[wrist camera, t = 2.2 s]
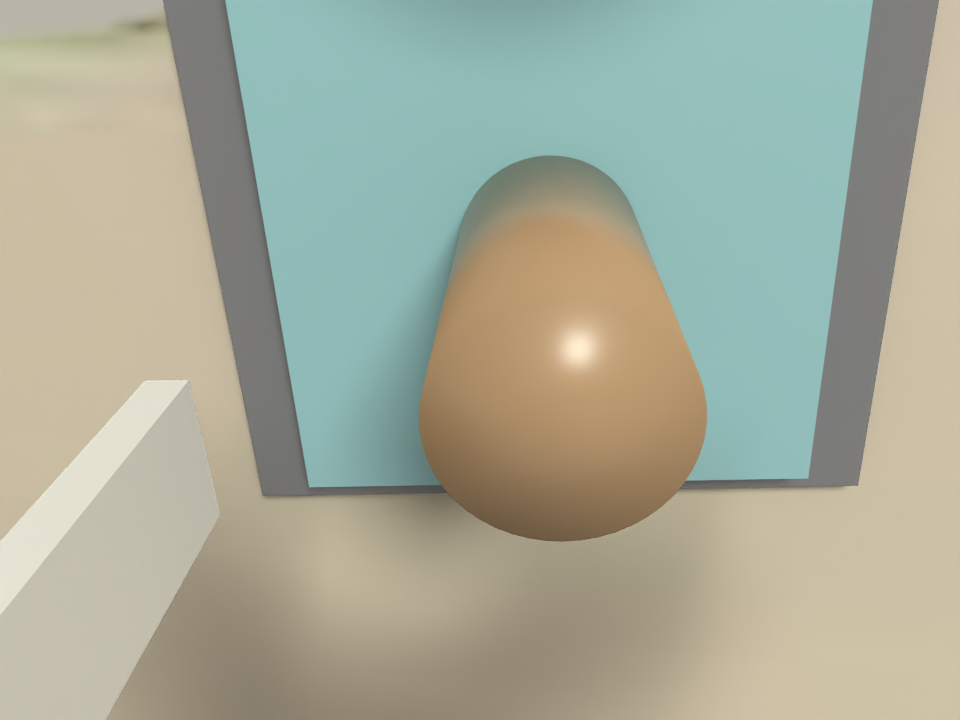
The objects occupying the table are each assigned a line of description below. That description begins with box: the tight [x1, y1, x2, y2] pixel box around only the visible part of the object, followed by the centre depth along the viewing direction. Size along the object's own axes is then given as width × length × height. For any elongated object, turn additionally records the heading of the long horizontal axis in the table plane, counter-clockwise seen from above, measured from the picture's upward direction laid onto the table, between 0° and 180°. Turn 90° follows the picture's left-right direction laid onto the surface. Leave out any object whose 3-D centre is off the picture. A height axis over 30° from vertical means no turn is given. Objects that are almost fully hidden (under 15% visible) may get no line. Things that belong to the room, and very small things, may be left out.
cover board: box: [225, 0, 873, 541], centre depth 20 cm, size 16×16×11 cm
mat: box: [163, 0, 939, 496], centre depth 25 cm, size 20×18×1 cm
